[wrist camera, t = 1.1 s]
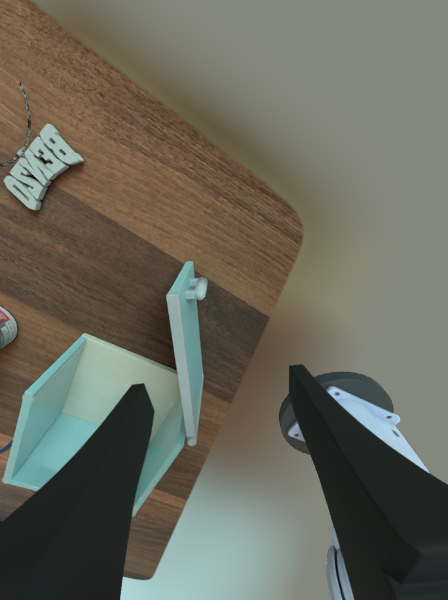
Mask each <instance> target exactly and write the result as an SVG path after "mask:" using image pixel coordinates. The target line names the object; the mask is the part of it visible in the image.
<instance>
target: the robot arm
mask: <svg viewBox="0 0 448 600" xmlns="http://www.w3.org/2000/svg"><path fill="white" fill-rule="evenodd" d="M289 397H290V401H291V404H292V408H293V411H294V415H295V418H296V420H297V421H296V422H295V423H294V424H293V425H292V426H291V427H290V428H289V429H288V435H289V436H291V437H294V438H296V439H299V440H301V441H304V442H305V443H306V445H307V448H308V450H309V453H310V455H311V457H312V460H313V463H314V465H315V468H316V471H317V473H318V476H319V479H320V482H321V486H322V489H323V492H324V495H325V499H326V502H327V505H328V509H329V512H330V515H331V519H332V522H333V525H334V527H332V528H330V529H329V530H330V533H331V536H332V540H333V543H334V545H333V546H331V547H330V548H329V550H328V554H327V569H326V571H327V582H328V588H329V593H330V597H331V600H448V485H447V484H446V483H444V482H442V481H441V480H439V479H437V478H436V477H434V476H433V475H431V474H430V473H429V472H428V470H427V469H426V467H425V466H424V465H423V463H422V462H421V461H420V459H419V458H418V456H417V455H416V454H415V453H414V451H413V450H412V448H411V447H410V445H409V444H408V443H407V441H406V440H405V439H404V437H403V436H402V435H401V433H400V432H399V430H398V429H397V428H396V426H395V425H396V424H397V423H398V422H399V421H400V418H399V416H398V415H396V414H394V413H391V412H389V411H387V410H385V409H383V408H381V407H378V406H376V405H374V404H372V403H370V402H367V401H365V400H363V399H361V398H359V397H356V396H354V395H352V394H350V393H348V392H345V391H343V390H341V389H339V388H337V387H334V386H330V387H329V388H327V389H326V390H325V389H324V388H323V387H322V386H321V385H320V383H319V382H318V381H317V380H316V379H315V378H314V377H313V376H312V375H311V374H310V373H309V371H308V370H307V369H306V368H305V367H304V366H303V365H302V364H301V365H293V366H290V367H289ZM154 412H155V410H154V408H153V405H152V403H151V400H150V397H149V395H148V392H147V389H146V387H145V384H144V383H141V384H133V385H131V386H130V388H129V389H128V390H127V391H126V393H125V394H124V395H123V397H122V398H121V399H120V401H119V402H118V403H117V405H116V406H115V407H114V408H113V410H112V411H111V412H110V413H109V415H108V416H107V417H106V418H105V420H104V421H103V422H102V423H101V425H100V426H99V427H98V428H97V430H96V431H95V432H94V433H93V434H92V435H91V437H90V438H89V439H88V440H87V441H86V442H85V444H84V445H83V446H82V447H81V448H80V449H79V450H78V451H77V452H76V454H75V455H74V456H73V457H72V458H71V459H70V460H69V461H68V462H67V463H66V464H65V465H64V466H63V467H62V468H61V469H60V470H59V471H58V472H57V473H56V474H55V475H54V476H53V477H52V478H51V479H50V480H49V481H48V482H47V483H45V484H44V485H43V486H42V487H41V488H40V489H39V490H38V491H37V492H36V493H35V494H34V495H33V496H32V497H30V498H29V499H28V500H27V501H26V502H25V503H24V504H23V505H21V506H20V507H19V508H18V509H17V510H16V511H15V512H13V513H12V514H11V515H10V516H9V517H7V518H6V519H5V520H4V521H3V522H1V523H0V600H120V595H121V587H122V579H123V572H124V564H125V557H126V550H127V544H128V537H129V531H130V524H131V518H132V513H133V507H134V501H135V496H136V491H137V487H138V483H139V479H140V475H141V471H142V468H143V464H144V460H145V456H146V452H147V449H148V445H149V441H150V437H151V433H152V426H153V419H154Z"/></svg>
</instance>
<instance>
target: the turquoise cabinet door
mask: <svg viewBox="0 0 448 600" xmlns="http://www.w3.org/2000/svg"><path fill="white" fill-rule="evenodd" d="M207 284H208V281H207V279H206V278H205V277H200V278H195V277H194V266H193V261H186V263H185V265H184V266H183V268H182V270H181V272H180V273H179V275H178V277H177V279H176V281H175V282H174V284H173V286H172V288H171V289H170V291H169V292H168V293H167V295H166V298H167V305H168V312H169V319H170V326H171V333H172V340H173V347H174V354H175V361H176V367H177V374H178V381H179V388H180V395H181V402H182V409H183V416H184V423H185V430H186V436H187V437H195V436H196V423H197V415H198V407H199V399H200V391H201V383H202V375H203V369H202V357H201V346H200V334H199V323H198V312H197V300H202V299H204V297H205V294H206V289H207ZM195 286H196V287H195ZM196 299H197V300H196Z"/></svg>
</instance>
